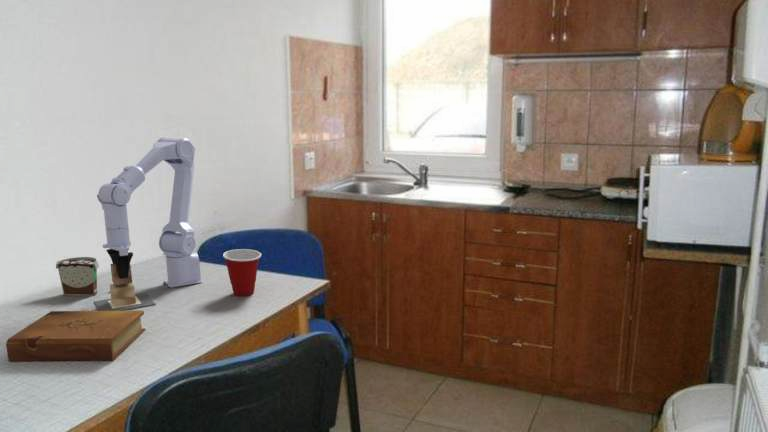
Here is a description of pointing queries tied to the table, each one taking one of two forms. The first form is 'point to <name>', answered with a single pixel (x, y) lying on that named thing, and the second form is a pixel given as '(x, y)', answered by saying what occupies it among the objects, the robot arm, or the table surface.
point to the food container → (78, 275)
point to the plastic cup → (242, 270)
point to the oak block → (122, 294)
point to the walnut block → (115, 277)
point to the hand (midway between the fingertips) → (121, 275)
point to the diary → (76, 336)
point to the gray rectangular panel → (141, 301)
